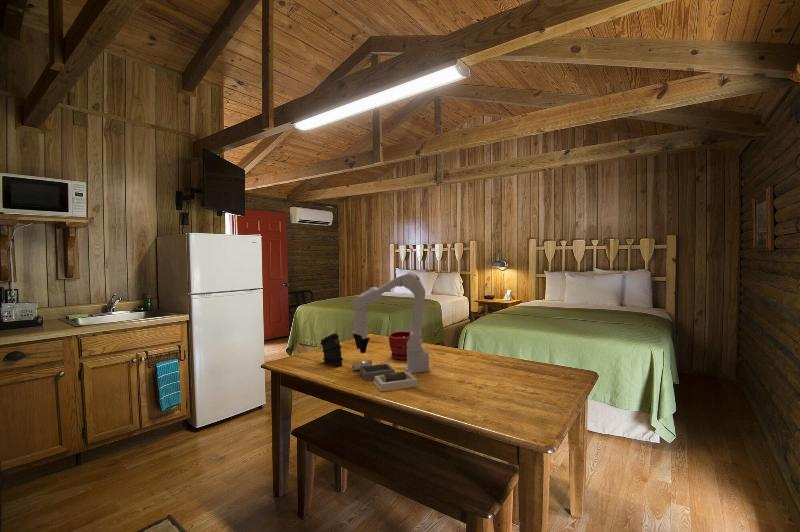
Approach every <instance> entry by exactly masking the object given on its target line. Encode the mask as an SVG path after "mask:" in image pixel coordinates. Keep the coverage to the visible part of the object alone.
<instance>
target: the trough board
mask: <svg viewBox="0 0 800 532" xmlns="http://www.w3.org/2000/svg"><path fill="white" fill-rule="evenodd" d="M404 372H405V374H406V380H400V381H392V382H385V381H384V375H380V376H374V380H372V383H373V385H374V387H376V389H377V390H378V392H387V391H394V390H401V389H409V388H415V387H419V383H418V378H417V377H415V376H414V375H413V373H409V372H408V371H404Z"/></svg>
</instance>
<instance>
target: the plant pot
mask: <svg viewBox="0 0 800 532" xmlns="http://www.w3.org/2000/svg"><path fill="white" fill-rule="evenodd" d="M410 332H411V331H395V332H391V333H389V334H388V345H389V348H390V351H391V357H392V358H393V359H394V360H395V359H396V360H399V359H400V360H401V361H402V360H403V361H404V359H405V360H407V349H408V348H407V342H408V340H409V338H410Z"/></svg>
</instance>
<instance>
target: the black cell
mask: <svg viewBox="0 0 800 532" xmlns="http://www.w3.org/2000/svg"><path fill="white" fill-rule="evenodd" d="M405 372H406V371H399V372H398V371H397V372H395V373H390V374H385V375H384V381H385V382H392V381H400V380H406V374H405Z"/></svg>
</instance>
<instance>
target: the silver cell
mask: <svg viewBox="0 0 800 532" xmlns="http://www.w3.org/2000/svg"><path fill="white" fill-rule="evenodd" d="M369 365H373V361H372V360H371V359H368V360H367V359H366V360H358V361H353V363H352V365H351V367H352V369H353V371H354V372H357V371H358V370H359V371H360V367H361V366H369ZM359 371H358V372H359Z"/></svg>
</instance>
